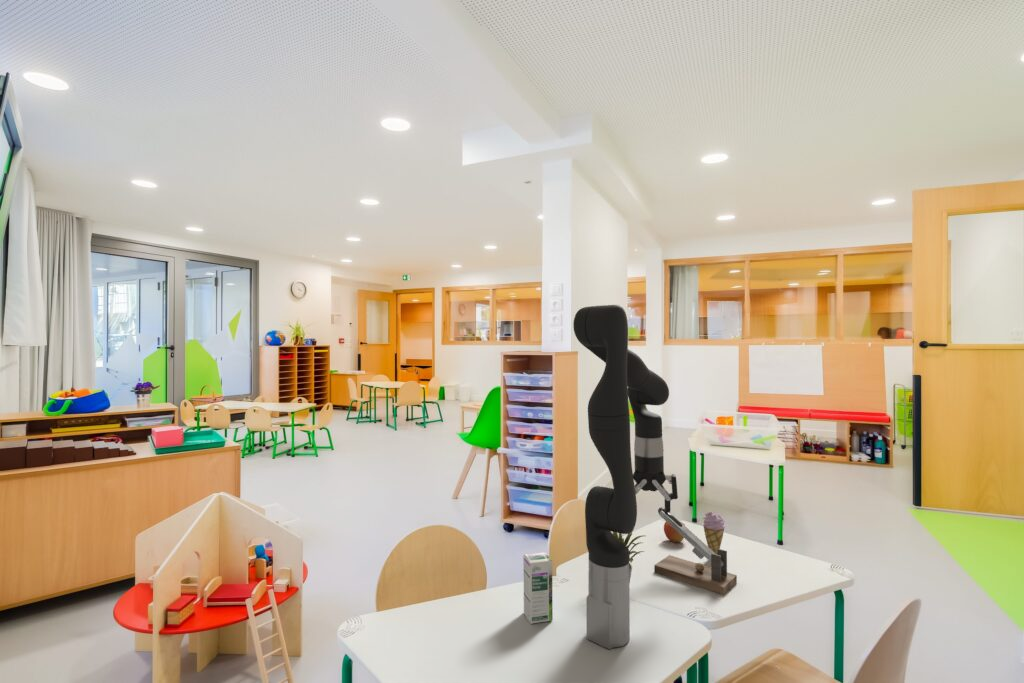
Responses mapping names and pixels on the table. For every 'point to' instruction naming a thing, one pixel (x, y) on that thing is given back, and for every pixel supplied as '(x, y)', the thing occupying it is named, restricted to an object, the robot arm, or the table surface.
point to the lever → (688, 536)
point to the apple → (672, 533)
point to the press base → (699, 572)
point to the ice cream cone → (713, 530)
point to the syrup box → (538, 587)
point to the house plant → (628, 547)
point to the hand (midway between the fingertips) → (649, 512)
